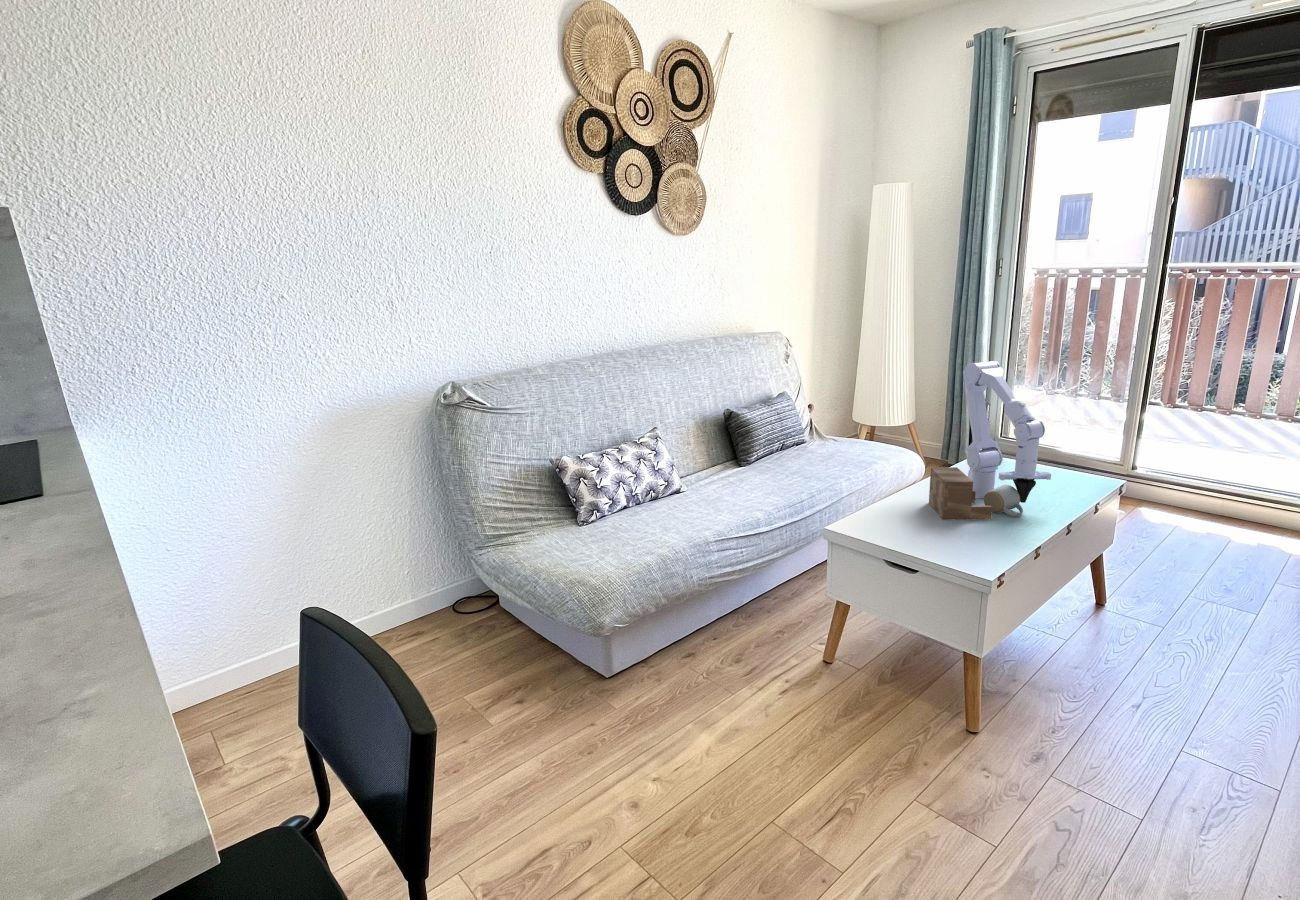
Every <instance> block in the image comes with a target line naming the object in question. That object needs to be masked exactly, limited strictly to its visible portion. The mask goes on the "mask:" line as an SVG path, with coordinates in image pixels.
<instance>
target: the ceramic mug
mask: <svg viewBox="0 0 1300 900" xmlns="http://www.w3.org/2000/svg"><path fill="white" fill-rule="evenodd" d="M1020 503H1021V502H1020V496H1019V493H1018V491H1017V489H1016V487H1014V486H1012V485H1010V484H1002V485H1000V486H998V487H994V489H993V490H991V491H989V492H988V493H986V494H985V496H984V498H983V504H984V506H992V513H994V514H1000V513H1003V512H1004V513H1005V514H1007V515H1008V516H1010V517H1014V518H1019V517H1021V516H1022V515H1023V513H1024V509H1023V507H1022V505H1021V504H1020ZM1013 509H1017V510H1018V511H1019V512H1014V511H1011V510H1013ZM1018 516H1019V517H1018Z"/></svg>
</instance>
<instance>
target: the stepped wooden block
mask: <svg viewBox="0 0 1300 900" xmlns="http://www.w3.org/2000/svg"><path fill="white" fill-rule="evenodd" d="M929 478H930V479H929V492H928V504H929V505H930V506H931V507H932V508H933V510H934V511H935V512H936V513H937V514H938V516H939V517H940V518H941V519H942V520H943V521H944V520H992V513H993V512H992V506H985V505H975V504H976V498H975V495H976V492H975V491H973V481H972V480H971V479H970V478H969V477H968V475H966V474H965V473H964V472H963V471H962V470H961V469H959V467H957V466H955V467H952V466H950V467H943V466H942V467H930V477H929ZM973 504H974V505H973Z"/></svg>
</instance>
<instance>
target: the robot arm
mask: <svg viewBox="0 0 1300 900" xmlns="http://www.w3.org/2000/svg"><path fill="white" fill-rule="evenodd" d="M1004 371H1005V370H1004V369H1003V368H1002V366H1001V364H1000V363H999V362H998V361H997V360H991V361H983V362H971V363H970V362H969V363H968V364H967V365H966V366H965V368H964V369H963V371H962V374H963V381H964V392H965V398H966V400H965V401H966V405H967V412H968V418H969V423H970V429H971V436H972V442H970V445H968V447H967V448H966V451H967V456H966V464H967V465H968V467H969V470H968V472H967V477H969V478H970V479H971V480H972V481H973V491H975V492H976V495H975V499H984V496H985V494H986V493H988V492H989V491H991V490H993V489H995V484H996V474H997V473H996V470H998V469H999V467H1000V466H1001V465H1002V463H1003V460H1004V459H1003V458H1004V457H1003V453H1002V452H1001V450H1000V446H999V444H998V443H997V442H996V441H995V440H993V438H992V436H991V429H990V423H989V415H988V410H987V404H986V397H985V391H986V389H987V388H988V387H990V389H992V390H993V392H994V393H995V394H996V396H997V397H998V398H999V399H1000V400H1001V402H1002V403H1003V405H1004V408H1003V411H1004V413H1005V415H1006V416H1007V418H1008V419H1009V420H1010V422H1011V424H1012V425H1013V427H1014V429H1013V435H1014V437H1015V443H1016V452H1015V453H1016V454H1015V465H1014V470H1013V471H1012V470H1011V471H1004V472H999V473H998V479H999V480H1000V481H1007V480H1012V481H1013V484H1014V486H1015V489H1016V490H1017V491H1018V493H1019V496H1020V503H1021V504H1022V503H1027V500H1028V497H1029V495H1030V493H1031V491H1032V490H1033V489H1034V487H1035V486H1036V484H1037V481H1036V480H1047V481H1049V480H1050V481H1051V479H1052V473H1050V472H1049V471H1037V464H1038V454H1039V453H1038V452H1039V446H1040V438H1042V437H1043V436H1044V435H1045V433H1046V428H1045V425H1044V423H1043V421H1042V420H1040V419H1038V418H1036V417H1035V416H1033V415H1032V413H1031V412H1030V411H1029V409H1028V408H1027V406H1026V403H1025V402H1024V401H1022V400H1021V399H1016V397H1015V396H1014V393H1013V391H1012V390H1011V388H1010V386H1009V384H1008V383H1007V381H1006V379H1005V378H1004Z"/></svg>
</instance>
